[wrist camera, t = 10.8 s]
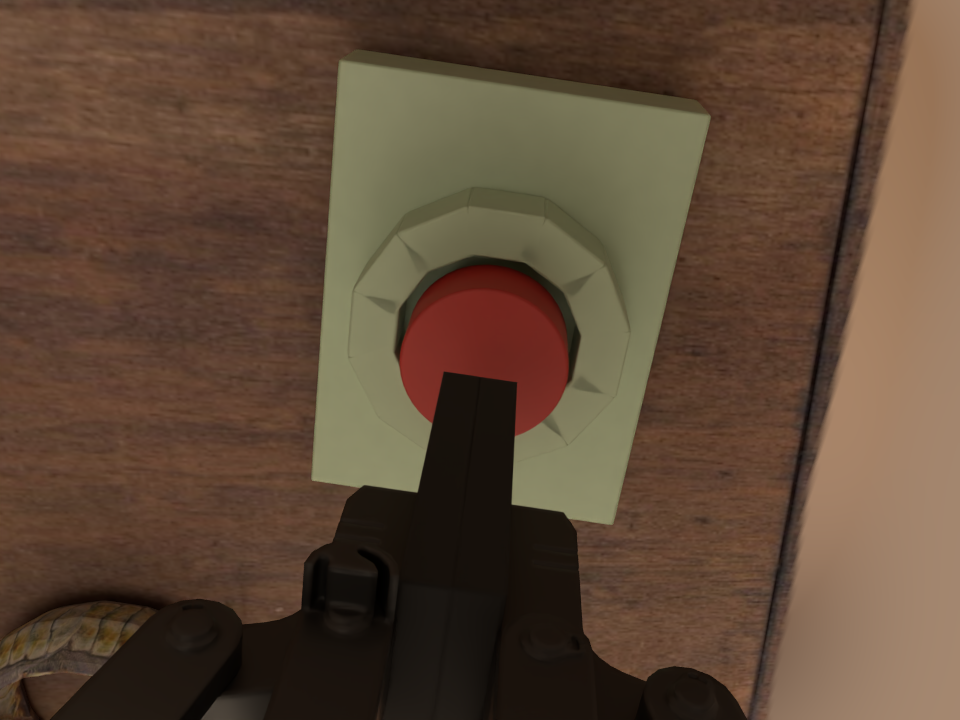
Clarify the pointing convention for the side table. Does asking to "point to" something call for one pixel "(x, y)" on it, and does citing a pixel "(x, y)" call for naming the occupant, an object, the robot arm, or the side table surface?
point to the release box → (499, 256)
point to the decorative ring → (63, 647)
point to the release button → (487, 339)
